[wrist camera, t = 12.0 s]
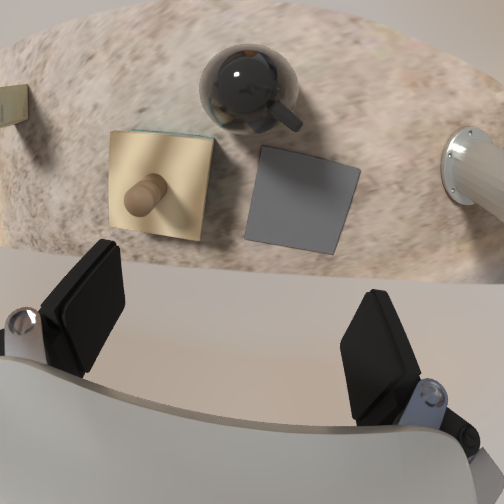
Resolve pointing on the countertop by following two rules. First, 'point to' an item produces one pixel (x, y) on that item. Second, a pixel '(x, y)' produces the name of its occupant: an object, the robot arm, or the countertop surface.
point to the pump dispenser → (250, 90)
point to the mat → (300, 200)
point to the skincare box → (13, 104)
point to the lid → (158, 183)
